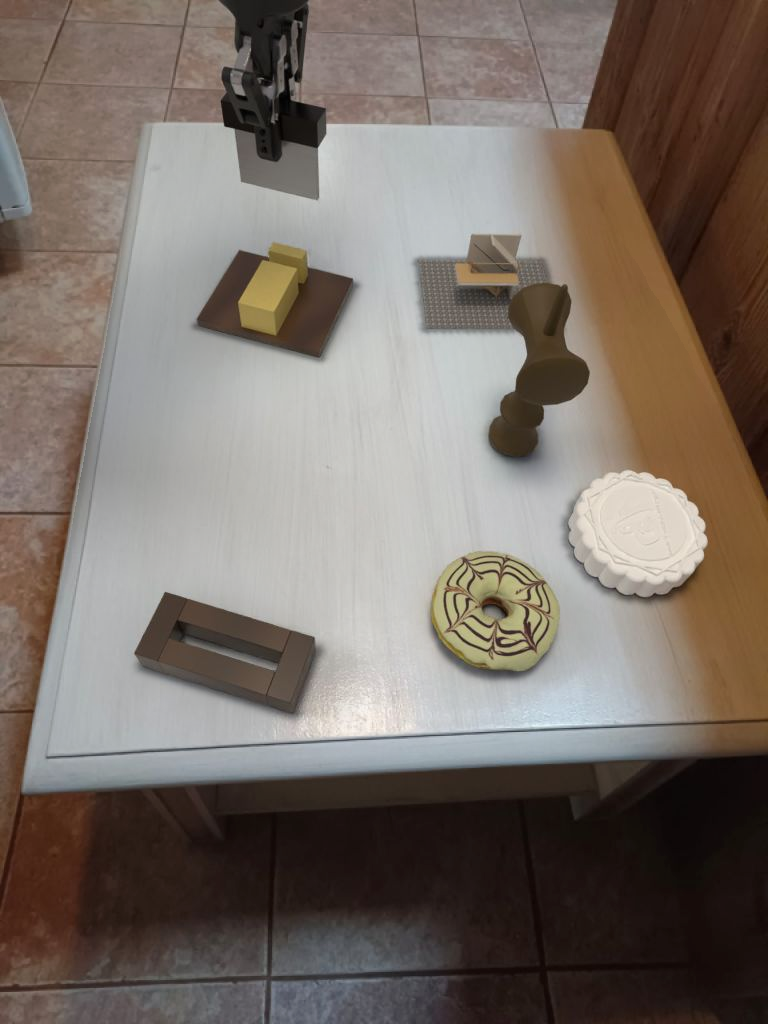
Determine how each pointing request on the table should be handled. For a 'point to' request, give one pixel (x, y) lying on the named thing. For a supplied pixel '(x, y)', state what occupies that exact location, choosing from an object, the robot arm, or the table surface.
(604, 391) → the table surface
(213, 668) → the stand
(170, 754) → the table surface
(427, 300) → the architectural model
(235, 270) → the butter board
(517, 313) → the kendama
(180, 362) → the table surface
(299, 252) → the butter slice
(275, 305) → the butter block
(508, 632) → the decorated donut
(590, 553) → the mooncake
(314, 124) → the bench knife
